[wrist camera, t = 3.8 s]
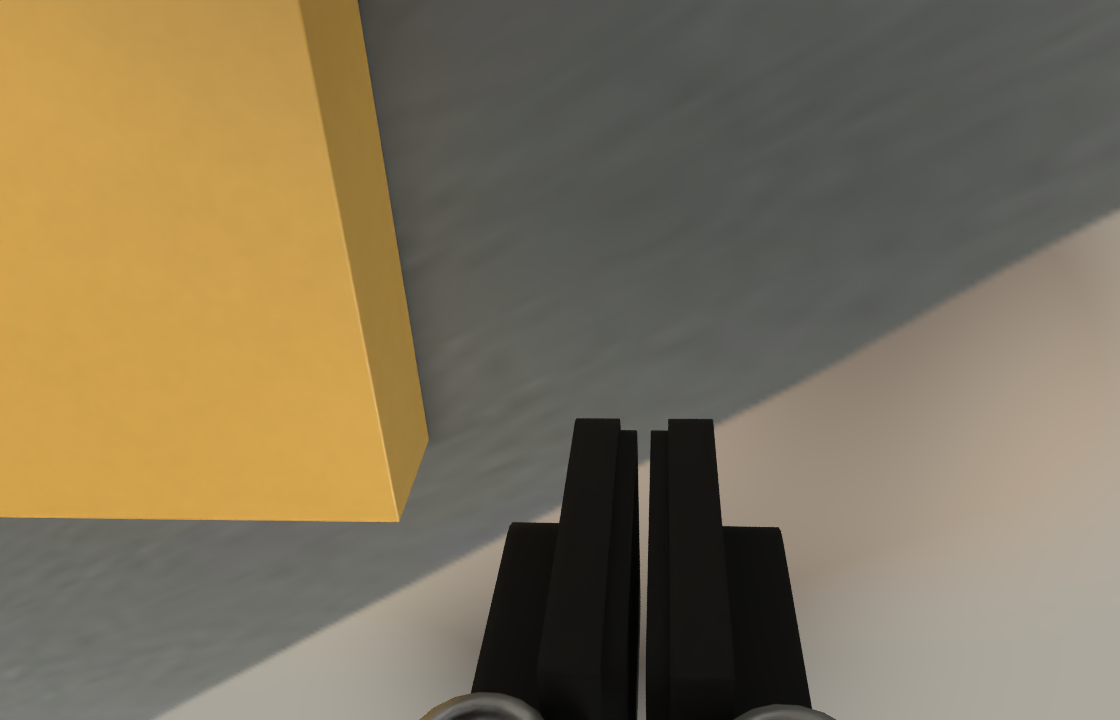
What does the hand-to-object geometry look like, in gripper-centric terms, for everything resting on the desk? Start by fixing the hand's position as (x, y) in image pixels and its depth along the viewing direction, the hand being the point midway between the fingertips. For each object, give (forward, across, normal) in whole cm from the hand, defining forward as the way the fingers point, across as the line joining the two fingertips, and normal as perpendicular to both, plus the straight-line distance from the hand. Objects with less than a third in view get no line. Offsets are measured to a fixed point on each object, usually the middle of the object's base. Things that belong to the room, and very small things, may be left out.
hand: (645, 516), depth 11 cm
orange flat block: (+8, +13, -1) cm, 15 cm away
